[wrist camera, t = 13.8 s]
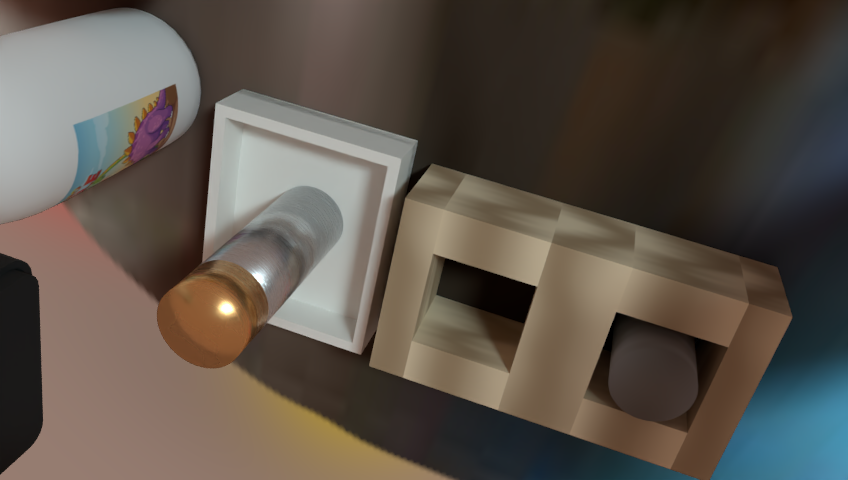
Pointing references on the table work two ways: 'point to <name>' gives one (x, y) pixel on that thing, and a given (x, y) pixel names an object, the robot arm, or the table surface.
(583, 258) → the socket block
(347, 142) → the tray
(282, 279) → the pin
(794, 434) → the table surface
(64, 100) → the milk bottle
